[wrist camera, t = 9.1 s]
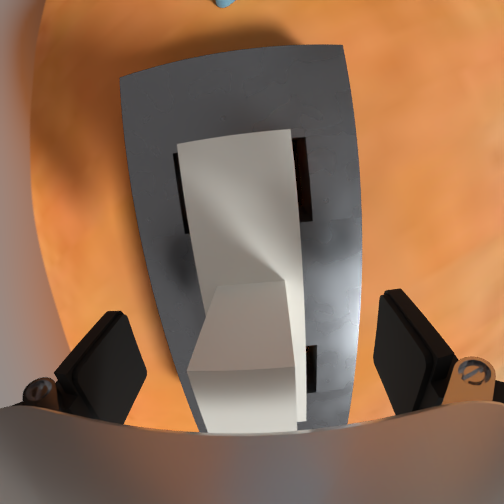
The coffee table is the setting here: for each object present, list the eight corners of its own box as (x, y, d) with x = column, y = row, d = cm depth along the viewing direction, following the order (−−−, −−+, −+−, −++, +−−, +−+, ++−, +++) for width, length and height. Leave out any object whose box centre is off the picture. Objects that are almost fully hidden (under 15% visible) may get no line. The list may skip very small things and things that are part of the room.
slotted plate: (150, 92, 14) (119, 77, 11) (325, 68, 14) (342, 44, 10) (209, 398, 21) (201, 436, 17) (337, 389, 20) (346, 427, 17)
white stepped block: (206, 147, 15) (106, 138, 5) (282, 138, 15) (312, 104, 5) (240, 364, 19) (221, 501, 9) (299, 360, 19) (313, 499, 9)
